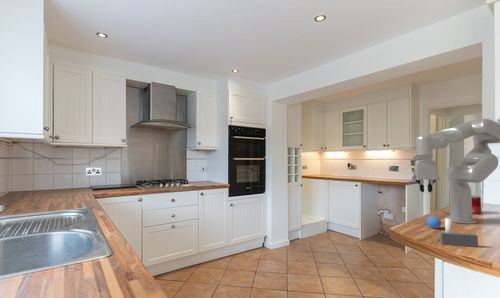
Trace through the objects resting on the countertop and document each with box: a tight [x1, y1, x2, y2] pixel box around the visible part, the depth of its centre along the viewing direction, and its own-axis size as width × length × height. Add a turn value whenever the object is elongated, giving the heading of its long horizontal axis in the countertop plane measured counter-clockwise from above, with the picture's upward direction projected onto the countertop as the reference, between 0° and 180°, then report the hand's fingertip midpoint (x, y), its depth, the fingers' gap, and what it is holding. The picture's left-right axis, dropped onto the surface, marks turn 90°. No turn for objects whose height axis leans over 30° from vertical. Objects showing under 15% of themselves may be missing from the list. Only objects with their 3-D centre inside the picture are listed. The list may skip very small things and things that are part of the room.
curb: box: [439, 231, 479, 248], centre depth 103 cm, size 2×12×4 cm, turn 72°
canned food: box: [471, 194, 482, 215], centre depth 161 cm, size 8×8×11 cm
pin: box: [444, 217, 453, 233], centre depth 112 cm, size 2×2×9 cm
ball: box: [426, 215, 442, 229], centre depth 128 cm, size 6×6×6 cm
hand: (426, 191), depth 138 cm, fingers open, 2 cm apart
